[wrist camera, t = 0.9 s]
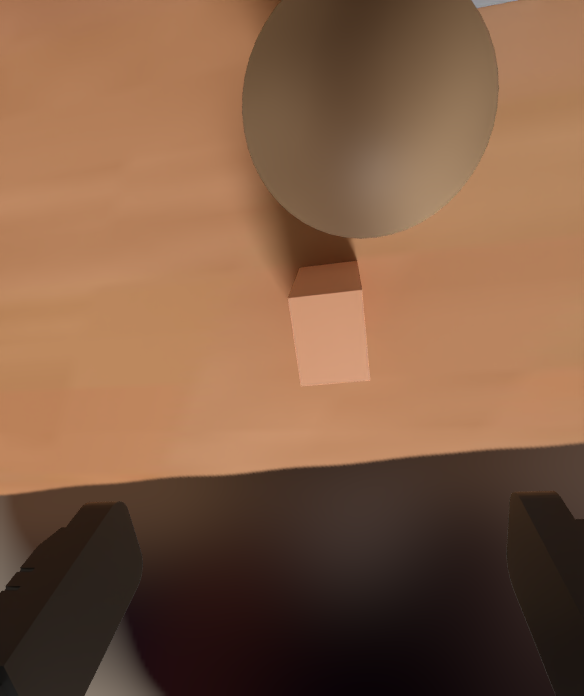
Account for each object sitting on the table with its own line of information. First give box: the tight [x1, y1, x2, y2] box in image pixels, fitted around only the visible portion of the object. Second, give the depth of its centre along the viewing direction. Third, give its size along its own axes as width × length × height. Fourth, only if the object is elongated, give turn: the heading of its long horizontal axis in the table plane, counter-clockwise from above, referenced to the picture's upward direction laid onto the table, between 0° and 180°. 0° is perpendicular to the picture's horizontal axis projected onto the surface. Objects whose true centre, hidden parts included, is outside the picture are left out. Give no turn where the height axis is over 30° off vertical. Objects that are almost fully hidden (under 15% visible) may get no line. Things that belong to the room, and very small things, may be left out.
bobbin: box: [242, 0, 499, 239], centre depth 17 cm, size 7×7×10 cm
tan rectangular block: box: [288, 261, 370, 386], centre depth 22 cm, size 3×4×6 cm
